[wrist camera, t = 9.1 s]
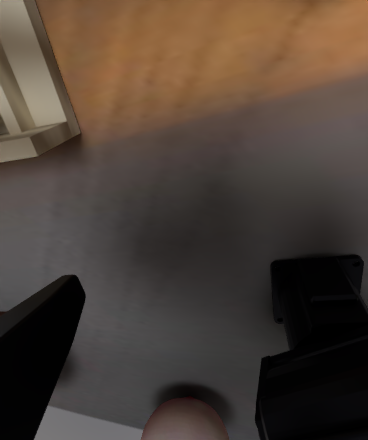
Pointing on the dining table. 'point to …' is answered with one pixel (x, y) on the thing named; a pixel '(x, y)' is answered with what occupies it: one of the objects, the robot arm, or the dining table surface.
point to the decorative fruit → (184, 421)
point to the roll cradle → (30, 86)
